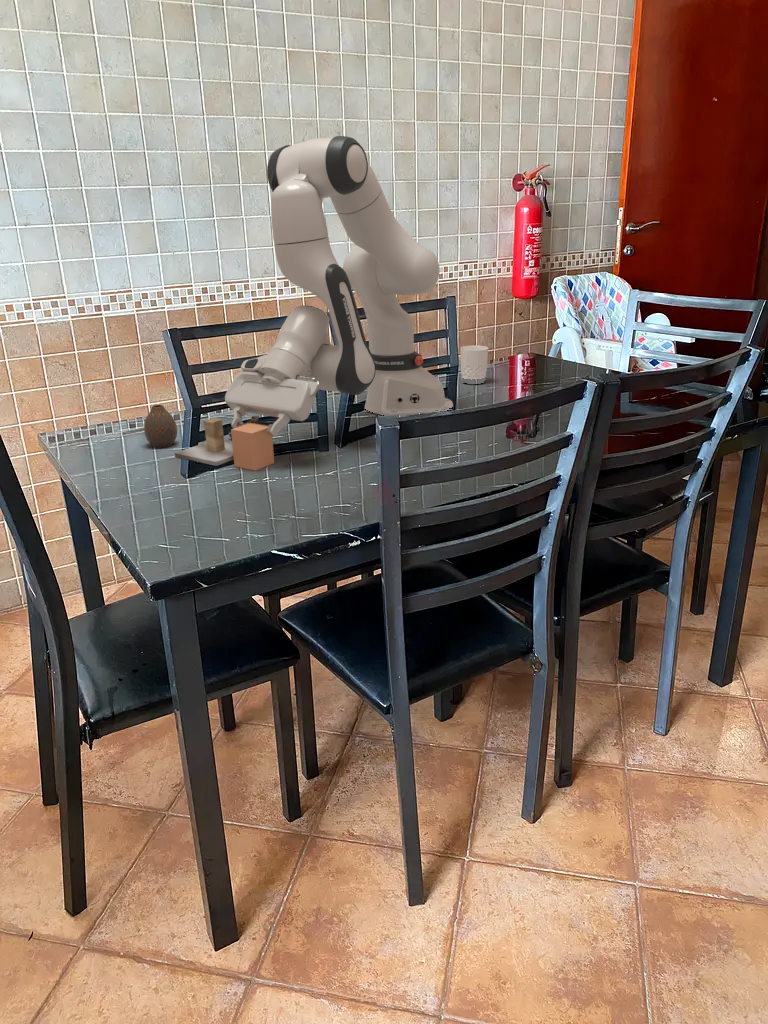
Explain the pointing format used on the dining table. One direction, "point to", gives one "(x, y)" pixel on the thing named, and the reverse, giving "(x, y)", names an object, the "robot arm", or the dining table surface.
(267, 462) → the tan cardboard cube
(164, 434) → the vase
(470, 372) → the white cup
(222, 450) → the base with wooden post
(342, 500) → the dining table surface
